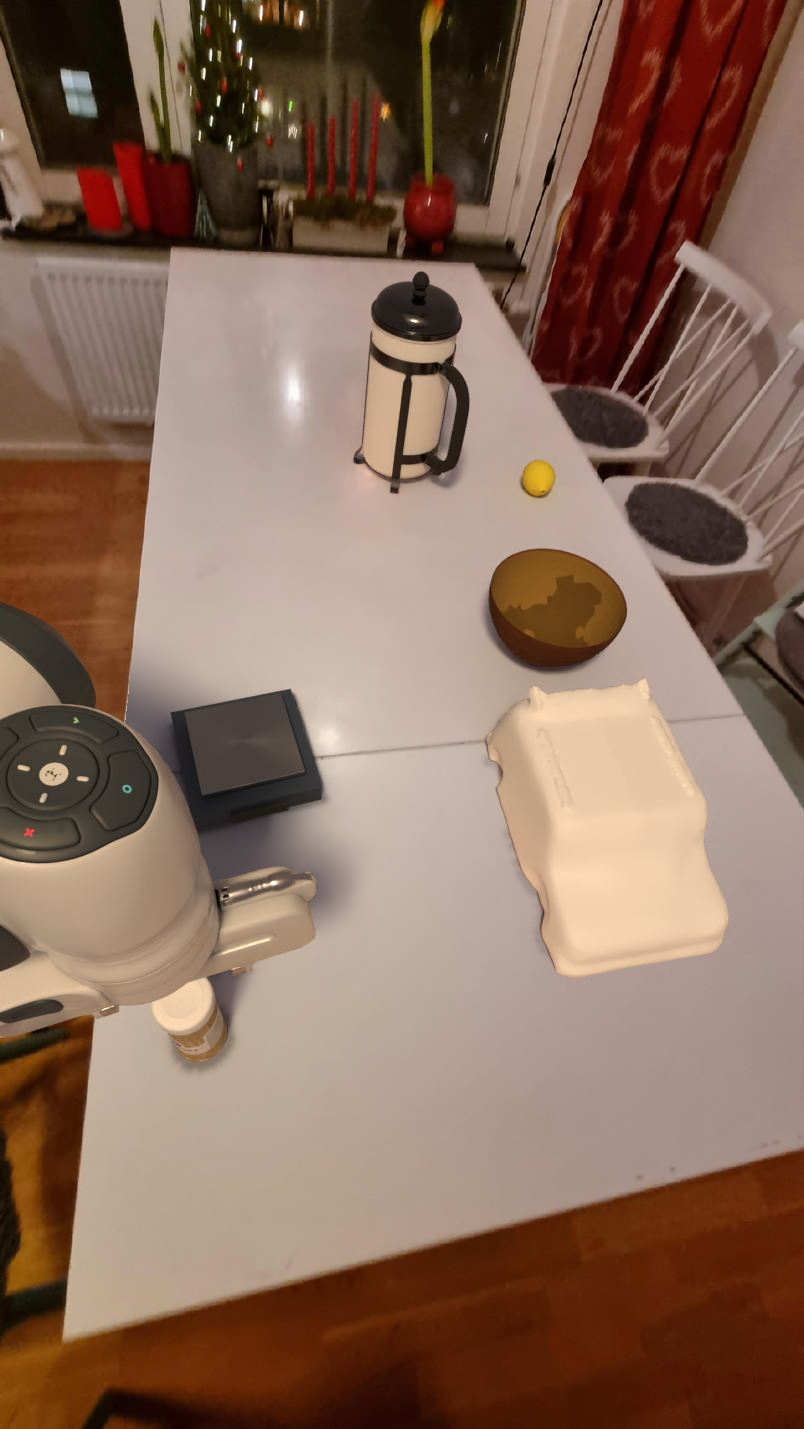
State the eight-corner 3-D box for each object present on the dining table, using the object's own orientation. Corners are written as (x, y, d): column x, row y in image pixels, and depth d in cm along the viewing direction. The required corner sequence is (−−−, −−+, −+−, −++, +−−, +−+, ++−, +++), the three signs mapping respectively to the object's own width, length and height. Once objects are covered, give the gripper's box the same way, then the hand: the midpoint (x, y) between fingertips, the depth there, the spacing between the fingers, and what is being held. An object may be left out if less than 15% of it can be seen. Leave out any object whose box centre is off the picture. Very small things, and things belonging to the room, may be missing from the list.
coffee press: (343, 489, 112) (354, 288, 88) (362, 434, 121) (377, 239, 97) (449, 510, 112) (489, 315, 87) (459, 454, 121) (499, 264, 97)
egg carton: (616, 723, 90) (659, 655, 79) (721, 954, 73) (793, 909, 62) (476, 738, 86) (500, 669, 75) (552, 986, 69) (598, 943, 58)
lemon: (515, 478, 119) (523, 450, 114) (546, 480, 120) (555, 452, 115) (522, 504, 115) (530, 476, 110) (553, 506, 115) (563, 478, 111)
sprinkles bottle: (166, 1050, 62) (137, 1014, 51) (194, 1000, 65) (172, 957, 54) (211, 1072, 61) (191, 1041, 51) (237, 1021, 64) (224, 981, 53)
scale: (196, 836, 74) (192, 823, 72) (174, 727, 82) (170, 712, 79) (323, 805, 78) (323, 791, 76) (291, 703, 86) (290, 688, 83)
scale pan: (202, 798, 73) (201, 795, 72) (185, 715, 78) (184, 712, 78) (305, 774, 76) (305, 771, 75) (281, 696, 82) (281, 692, 81)
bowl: (490, 701, 90) (508, 650, 82) (463, 602, 100) (477, 548, 92) (617, 694, 93) (647, 645, 85) (578, 600, 103) (602, 547, 95)
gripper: (302, 822, 44) (304, 902, 55) (-61, 916, 38) (23, 984, 49) (330, 915, 40) (326, 980, 52) (-64, 1034, 35) (27, 1078, 46)
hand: (176, 983), depth 50 cm, fingers open, 8 cm apart
